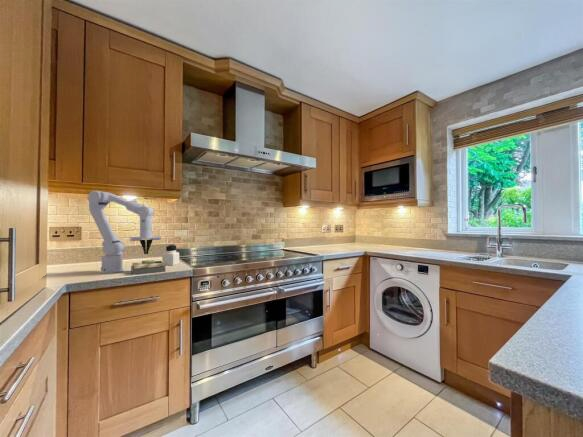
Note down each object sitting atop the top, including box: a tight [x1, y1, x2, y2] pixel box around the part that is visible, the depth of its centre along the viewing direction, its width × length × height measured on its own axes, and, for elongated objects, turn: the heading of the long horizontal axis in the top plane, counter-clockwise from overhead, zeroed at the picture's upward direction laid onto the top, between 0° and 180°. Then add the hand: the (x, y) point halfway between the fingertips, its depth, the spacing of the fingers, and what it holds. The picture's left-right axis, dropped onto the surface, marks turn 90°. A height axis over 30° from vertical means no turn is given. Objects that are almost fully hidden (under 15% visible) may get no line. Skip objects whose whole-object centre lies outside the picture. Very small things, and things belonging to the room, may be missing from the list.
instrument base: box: [130, 265, 166, 276], centre depth 140 cm, size 15×13×3 cm
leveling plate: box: [131, 259, 165, 269], centre depth 140 cm, size 14×12×3 cm
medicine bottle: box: [161, 244, 180, 266], centre depth 160 cm, size 7×7×12 cm
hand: (146, 253), depth 139 cm, fingers closed
